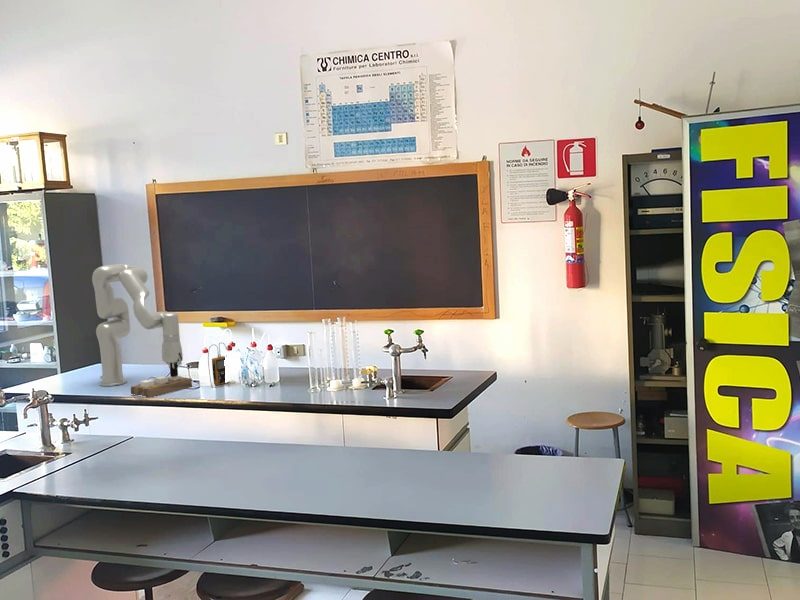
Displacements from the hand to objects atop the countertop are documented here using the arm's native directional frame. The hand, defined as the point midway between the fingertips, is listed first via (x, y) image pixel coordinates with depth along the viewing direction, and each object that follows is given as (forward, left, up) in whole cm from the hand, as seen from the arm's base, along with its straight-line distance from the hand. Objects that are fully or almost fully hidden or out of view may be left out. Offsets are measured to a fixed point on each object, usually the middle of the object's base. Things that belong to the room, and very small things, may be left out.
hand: (174, 375), depth 366 cm
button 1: (0, -16, -4) cm, 16 cm away
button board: (0, -8, -6) cm, 10 cm away
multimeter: (+20, +14, -6) cm, 25 cm away
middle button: (0, -8, -4) cm, 9 cm away
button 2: (0, 0, -5) cm, 5 cm away
